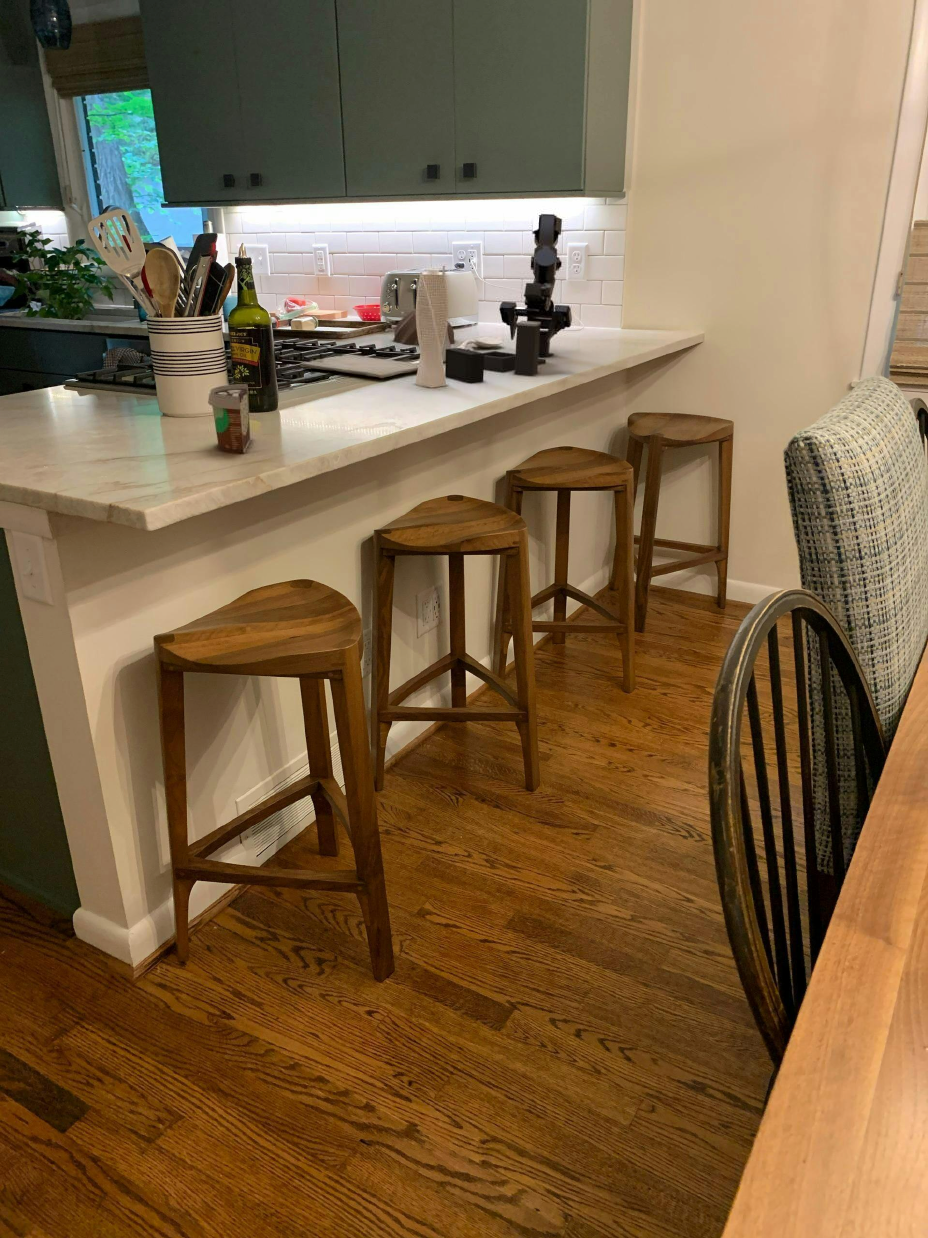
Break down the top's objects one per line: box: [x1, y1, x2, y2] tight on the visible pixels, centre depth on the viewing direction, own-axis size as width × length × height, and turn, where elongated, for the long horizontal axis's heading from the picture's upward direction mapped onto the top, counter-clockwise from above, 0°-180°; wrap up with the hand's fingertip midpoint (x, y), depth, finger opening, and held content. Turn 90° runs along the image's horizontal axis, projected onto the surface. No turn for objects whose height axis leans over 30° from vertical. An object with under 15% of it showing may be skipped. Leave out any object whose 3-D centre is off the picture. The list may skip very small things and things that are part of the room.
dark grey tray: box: [483, 350, 547, 373], centre depth 258 cm, size 22×16×4 cm
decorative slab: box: [299, 354, 419, 379], centre depth 242 cm, size 27×21×2 cm
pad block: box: [514, 320, 541, 377], centre depth 243 cm, size 5×5×13 cm
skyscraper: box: [415, 262, 449, 389], centre depth 221 cm, size 8×8×28 cm
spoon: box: [457, 336, 504, 349], centre depth 278 cm, size 9×32×4 cm, turn 153°
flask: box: [441, 323, 452, 363], centre depth 259 cm, size 7×7×10 cm
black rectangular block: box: [444, 347, 485, 384], centre depth 234 cm, size 10×5×7 cm, turn 39°
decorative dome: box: [393, 309, 455, 346], centre depth 293 cm, size 19×20×10 cm
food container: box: [207, 383, 251, 454], centre depth 164 cm, size 12×6×10 cm, turn 5°
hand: (528, 340), depth 243 cm, fingers open, 9 cm apart
